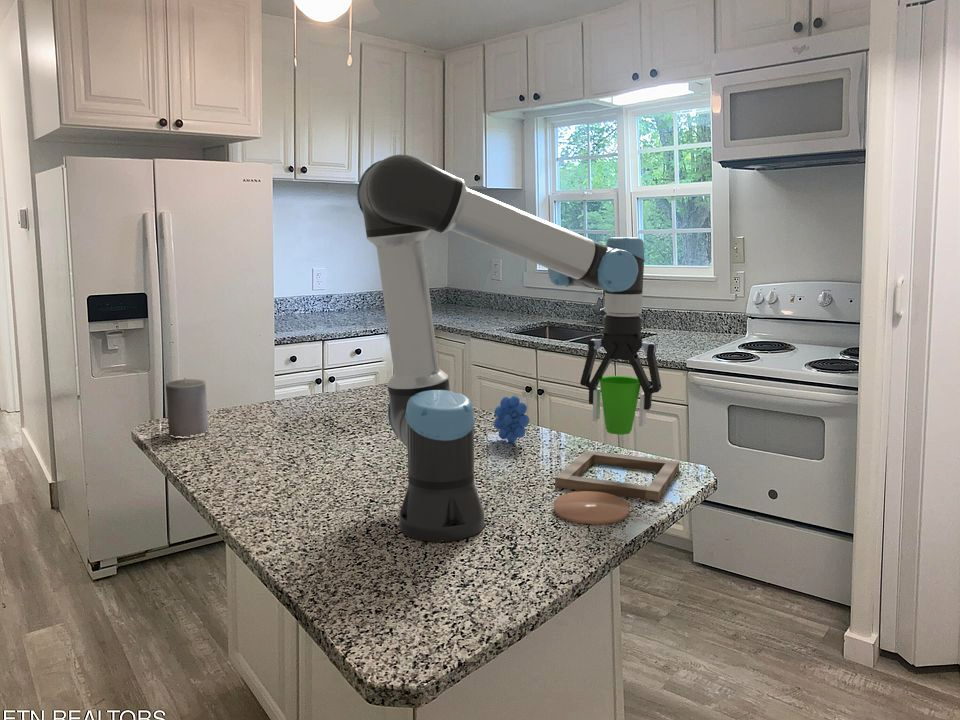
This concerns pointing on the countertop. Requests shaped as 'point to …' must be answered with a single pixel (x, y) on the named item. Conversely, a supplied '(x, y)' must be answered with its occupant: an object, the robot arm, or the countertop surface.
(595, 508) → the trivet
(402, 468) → the countertop surface
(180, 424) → the pillar candle
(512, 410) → the grapes
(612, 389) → the cup
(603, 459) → the frame
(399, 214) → the robot arm
